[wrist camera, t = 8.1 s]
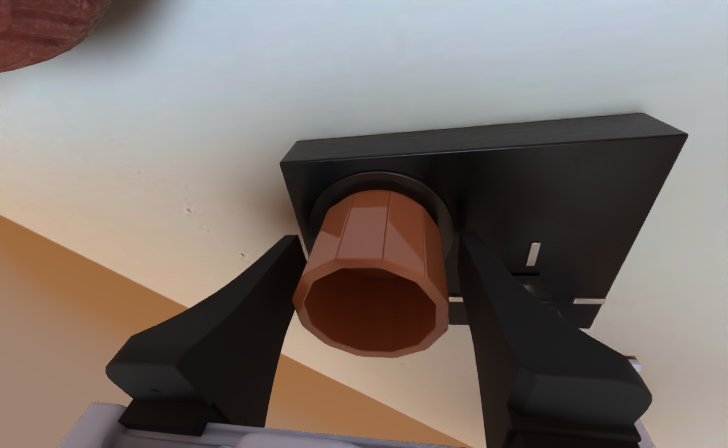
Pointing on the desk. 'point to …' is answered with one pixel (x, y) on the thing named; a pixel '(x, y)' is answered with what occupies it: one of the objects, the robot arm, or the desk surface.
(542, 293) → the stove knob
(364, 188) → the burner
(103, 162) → the desk surface
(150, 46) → the desk surface
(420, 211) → the small cup
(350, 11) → the desk surface
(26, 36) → the bowl
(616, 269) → the stove
